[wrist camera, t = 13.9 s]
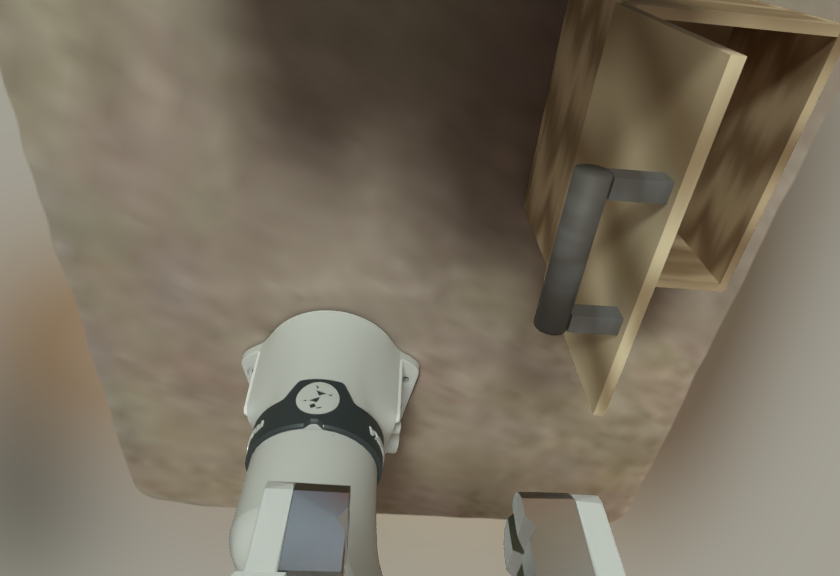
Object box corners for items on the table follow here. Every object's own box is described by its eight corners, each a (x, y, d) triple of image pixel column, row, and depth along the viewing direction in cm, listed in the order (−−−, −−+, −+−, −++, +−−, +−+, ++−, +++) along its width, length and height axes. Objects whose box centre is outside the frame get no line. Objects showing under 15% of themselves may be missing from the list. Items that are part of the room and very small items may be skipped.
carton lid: (604, 415, 30) (517, 411, 29) (551, 280, 40) (487, 276, 40) (747, 56, 19) (617, 43, 19) (626, 3, 30) (541, -6, 30)
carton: (663, 216, 51) (724, 291, 41) (523, 206, 50) (551, 279, 40) (745, -3, 41) (853, 26, 31) (572, -21, 40) (626, 3, 30)
